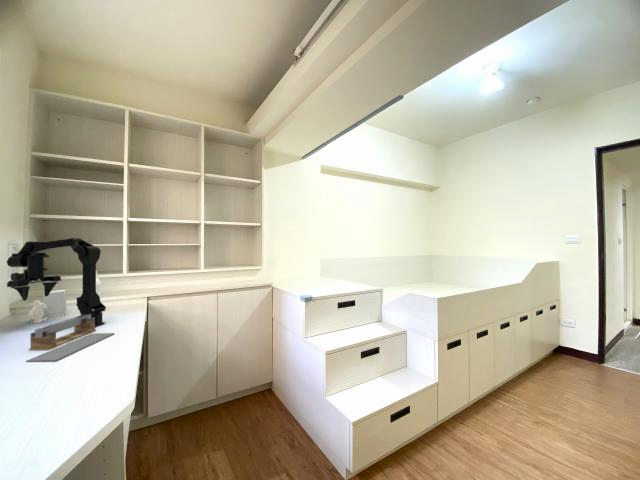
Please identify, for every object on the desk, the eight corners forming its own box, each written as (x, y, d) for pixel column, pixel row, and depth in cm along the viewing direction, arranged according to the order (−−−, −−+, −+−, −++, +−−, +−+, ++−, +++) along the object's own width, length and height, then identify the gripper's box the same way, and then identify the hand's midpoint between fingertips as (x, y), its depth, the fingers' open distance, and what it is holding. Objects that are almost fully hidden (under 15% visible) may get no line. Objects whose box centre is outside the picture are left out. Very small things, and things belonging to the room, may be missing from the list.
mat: (114, 334, 113) (114, 333, 113) (56, 361, 87) (56, 360, 87) (91, 334, 113) (91, 333, 113) (26, 362, 87) (26, 360, 87)
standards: (80, 331, 117) (80, 317, 118) (95, 330, 118) (95, 317, 118) (28, 351, 96) (28, 334, 96) (48, 350, 96) (48, 333, 96)
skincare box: (66, 314, 145) (66, 289, 145) (65, 317, 140) (65, 290, 140) (45, 317, 139) (45, 291, 140) (43, 320, 135) (43, 292, 135)
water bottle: (91, 315, 144) (91, 271, 144) (81, 314, 146) (82, 271, 146) (104, 311, 151) (104, 270, 151) (95, 311, 153) (95, 270, 153)
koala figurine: (45, 323, 130) (45, 300, 130) (25, 326, 125) (25, 302, 126) (48, 319, 136) (48, 297, 136) (30, 322, 132) (30, 299, 132)
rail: (84, 320, 118) (85, 314, 118) (91, 320, 118) (91, 313, 118) (34, 337, 96) (34, 330, 96) (42, 337, 96) (42, 329, 96)
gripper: (41, 265, 133) (41, 294, 133) (-5, 269, 114) (-5, 303, 114) (61, 265, 133) (62, 294, 133) (18, 268, 114) (19, 302, 114)
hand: (36, 298), depth 123 cm, fingers open, 9 cm apart
